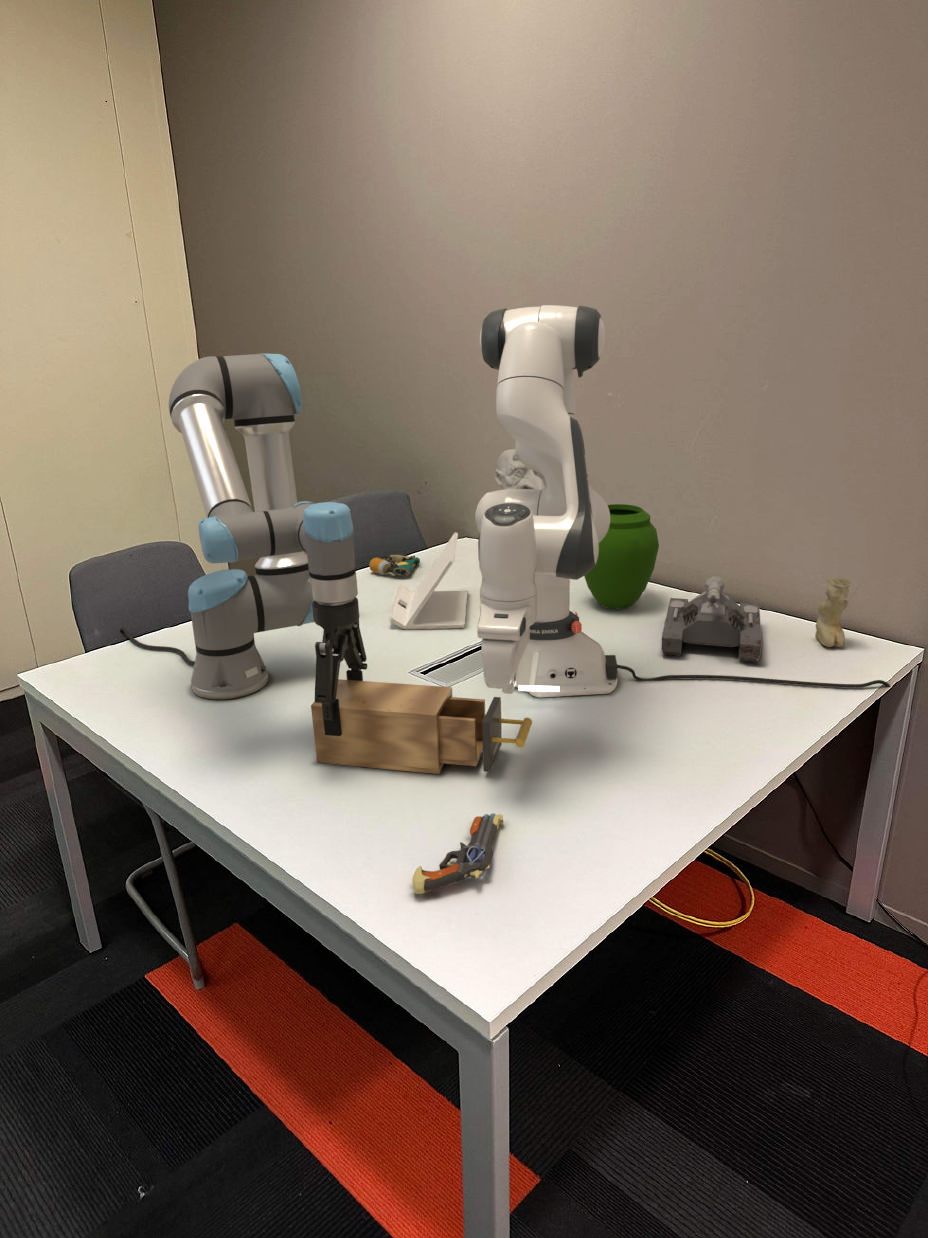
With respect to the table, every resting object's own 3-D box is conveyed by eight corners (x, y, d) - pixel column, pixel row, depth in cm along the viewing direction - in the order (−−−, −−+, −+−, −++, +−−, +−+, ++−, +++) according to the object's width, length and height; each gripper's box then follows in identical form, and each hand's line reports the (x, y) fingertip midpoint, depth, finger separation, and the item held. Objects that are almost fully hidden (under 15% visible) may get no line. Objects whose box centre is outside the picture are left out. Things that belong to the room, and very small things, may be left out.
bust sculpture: (503, 593, 225) (502, 460, 212) (483, 567, 247) (480, 445, 234) (562, 587, 228) (563, 456, 215) (536, 562, 250) (536, 441, 237)
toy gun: (407, 882, 111) (482, 881, 109) (438, 809, 129) (503, 808, 126) (410, 900, 111) (485, 900, 109) (441, 825, 129) (505, 824, 127)
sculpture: (821, 649, 184) (830, 583, 179) (808, 637, 191) (816, 573, 185) (848, 649, 184) (858, 582, 179) (834, 636, 191) (843, 572, 185)
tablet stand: (467, 593, 225) (465, 531, 219) (465, 628, 202) (462, 559, 196) (399, 594, 226) (395, 532, 220) (388, 629, 203) (384, 560, 197)
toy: (669, 617, 205) (672, 557, 199) (757, 623, 199) (763, 562, 194) (660, 658, 182) (664, 591, 177) (759, 666, 177) (766, 598, 171)
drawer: (533, 746, 146) (532, 699, 143) (523, 775, 137) (523, 725, 134) (389, 734, 152) (386, 688, 149) (372, 761, 143) (367, 713, 140)
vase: (599, 587, 227) (601, 497, 218) (668, 600, 216) (673, 505, 208) (562, 608, 212) (564, 513, 204) (634, 623, 202) (639, 523, 193)
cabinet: (454, 743, 150) (452, 687, 146) (439, 774, 140) (435, 715, 137) (339, 733, 155) (334, 678, 151) (316, 762, 145) (310, 705, 142)
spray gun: (389, 561, 257) (433, 568, 251) (360, 574, 243) (406, 581, 237) (389, 547, 256) (434, 554, 250) (360, 559, 242) (406, 566, 236)
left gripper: (339, 575, 151) (348, 688, 159) (283, 622, 130) (298, 750, 138) (379, 577, 149) (387, 691, 157) (329, 625, 128) (341, 754, 136)
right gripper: (501, 587, 143) (502, 662, 148) (474, 632, 125) (476, 716, 130) (538, 589, 142) (538, 665, 147) (517, 634, 123) (517, 720, 128)
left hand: (345, 719), depth 147 cm, fingers closed on cabinet, 11 cm apart
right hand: (509, 689), depth 138 cm, fingers closed
